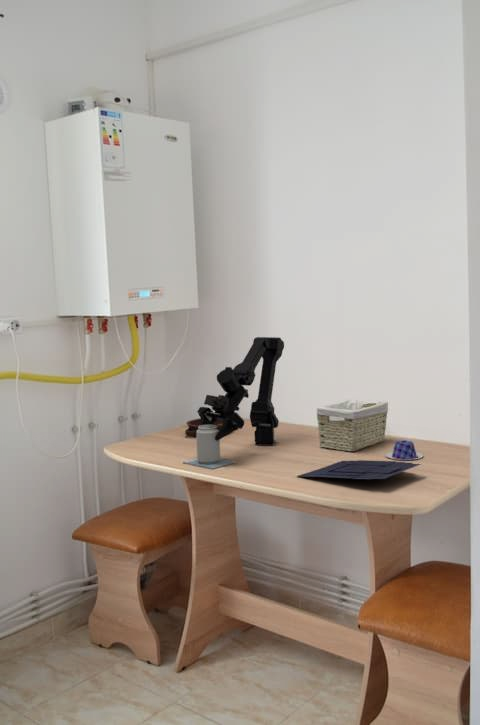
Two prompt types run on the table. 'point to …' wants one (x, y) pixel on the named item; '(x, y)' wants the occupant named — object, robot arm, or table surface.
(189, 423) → the dish
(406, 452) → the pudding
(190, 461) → the mat
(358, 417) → the storage basket
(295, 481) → the table surface
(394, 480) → the table surface
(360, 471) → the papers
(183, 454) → the table surface
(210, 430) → the can
